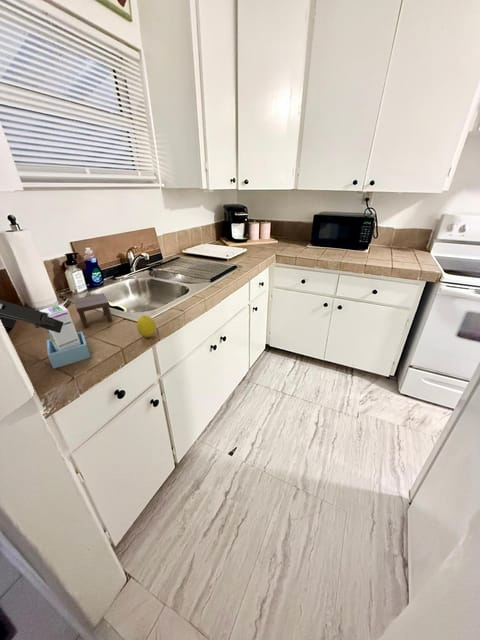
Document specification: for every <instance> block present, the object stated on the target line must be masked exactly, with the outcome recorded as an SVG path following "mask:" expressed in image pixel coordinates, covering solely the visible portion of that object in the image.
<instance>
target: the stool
mask: <svg viewBox="0 0 480 640" xmlns="http://www.w3.org/2000/svg"><path fill="white" fill-rule="evenodd" d="M73 303H74V305H75V308H76V309H75V310H76V312H77V313H78V316H79V319H80V322H81V324H82V328H83V329H85V330H87V329H89V324H88V321H87V317H86V314H85V312H88V311H89V312H90V311H93V310H97V309H102V312H103V315H105V316H106V320H107V323H113V321H114V320H113V317H112V313H111V309H110V301H109V300H108V298H107V297H106V295H105V293H104V292H103V293H97V294H92V295H86V296H82V297H77V298H73Z"/></svg>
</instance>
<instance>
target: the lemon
mask: <svg viewBox="0 0 480 640" xmlns="http://www.w3.org/2000/svg"><path fill="white" fill-rule="evenodd" d="M136 328H137V332H138V333H139V334H140V336H141V337H145V338H151V336H153V335H154V333H155V332H156V323H155V321H154V319H153V318H152V317H151V316H149V315H146V314H144V315H142V316H141V317H139V318H138V320H137V322H136Z"/></svg>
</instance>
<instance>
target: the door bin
mask: <svg viewBox="0 0 480 640" xmlns="http://www.w3.org/2000/svg"><path fill="white" fill-rule="evenodd" d="M76 332H77V335H78V337H79V340H80V343H81V345H80V346H76V347H73V348H69V349H65V350H62V351H58V352H56V350H55V348H54V345H53V343H52V341H51V338H49V339H46V349H47V350H46V352H47V357H48V360H49V362H50V365H51V367H52V369H53V370H54V369H58V368H61V367H64V366H67V365H70V364H73V363H77V362H81V361H84V360H87V359H90V358H91V354H90V351H89V348H88V343H87V341H86V337H85V335H84V333H83V331H76Z"/></svg>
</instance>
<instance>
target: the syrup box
mask: <svg viewBox="0 0 480 640" xmlns="http://www.w3.org/2000/svg"><path fill="white" fill-rule="evenodd" d="M38 311H40V312H45V313H48V317H51V318H53V319H56V320H59V321H61V322H64V323H63V326H62V329H61V332H60V333H57V332H54V331H51V330H48V329H46V331H47V333H48V336H49V339H51V341H52V343H53V345H54V348H55V350H56V352H58V351H62V350H65V349H69V348H73V347H76V346H80V345H81V343H80V340H79V337H78V335H77V332H78V331H77V329H76V327H75V324H74V321H73V319H72V316H71V314H70V311H69V309H68V308H66V307H65V305H63V304H55V305H52V306H48V307H46V308H43V309H40V310H38Z"/></svg>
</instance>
